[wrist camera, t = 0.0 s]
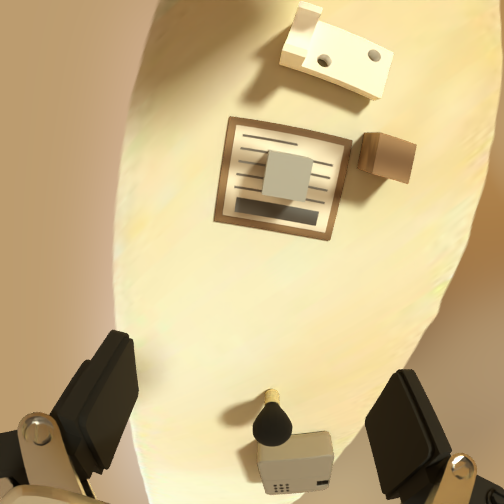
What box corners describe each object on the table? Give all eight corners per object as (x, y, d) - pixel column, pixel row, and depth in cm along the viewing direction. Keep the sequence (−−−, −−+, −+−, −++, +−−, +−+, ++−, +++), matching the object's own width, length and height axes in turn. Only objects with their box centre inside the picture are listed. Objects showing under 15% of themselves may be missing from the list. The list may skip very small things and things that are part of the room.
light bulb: (284, 404, 54) (286, 454, 43) (251, 400, 53) (248, 450, 42) (293, 382, 51) (298, 434, 40) (258, 378, 51) (256, 430, 40)
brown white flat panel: (230, 116, 35) (229, 116, 35) (351, 140, 36) (353, 140, 35) (214, 219, 41) (214, 220, 40) (329, 239, 41) (330, 240, 41)
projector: (266, 473, 66) (266, 495, 59) (257, 434, 59) (256, 462, 51) (326, 467, 65) (328, 490, 58) (330, 427, 57) (335, 455, 50)
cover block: (268, 149, 36) (269, 151, 32) (307, 156, 37) (313, 159, 32) (261, 187, 38) (261, 194, 34) (299, 194, 38) (304, 202, 34)
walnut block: (364, 132, 35) (380, 132, 30) (396, 142, 36) (416, 144, 30) (357, 168, 37) (372, 173, 32) (389, 177, 37) (408, 184, 32)
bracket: (278, 66, 33) (282, 50, 26) (294, 23, 30) (300, 0, 23) (371, 101, 34) (393, 95, 27) (384, 58, 31) (407, 45, 24)
